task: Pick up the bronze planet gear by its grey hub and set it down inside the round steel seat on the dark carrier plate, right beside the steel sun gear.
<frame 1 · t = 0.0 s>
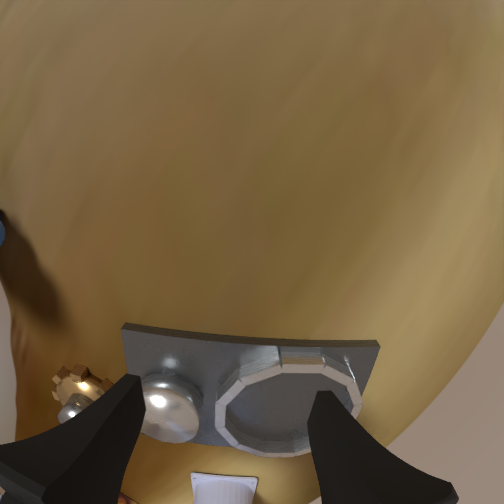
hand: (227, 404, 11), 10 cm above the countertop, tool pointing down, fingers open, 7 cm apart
gear carrier: (246, 398, 23), on the countertop
planet gear: (91, 396, 23), on the countertop
candy box: (113, 491, 31), on the countertop
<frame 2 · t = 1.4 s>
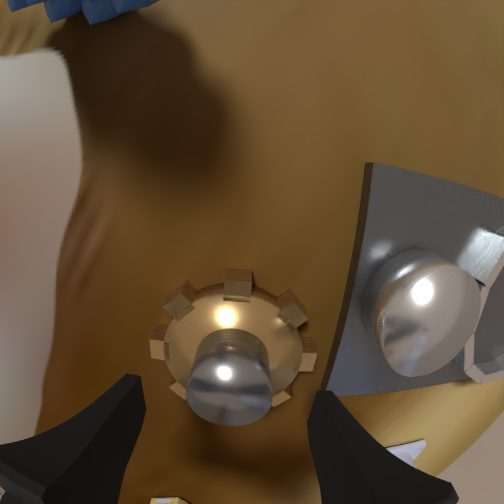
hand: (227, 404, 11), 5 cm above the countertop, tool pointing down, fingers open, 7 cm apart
gear carrier: (475, 294, 15), on the countertop
planet gear: (233, 342, 15), on the countertop
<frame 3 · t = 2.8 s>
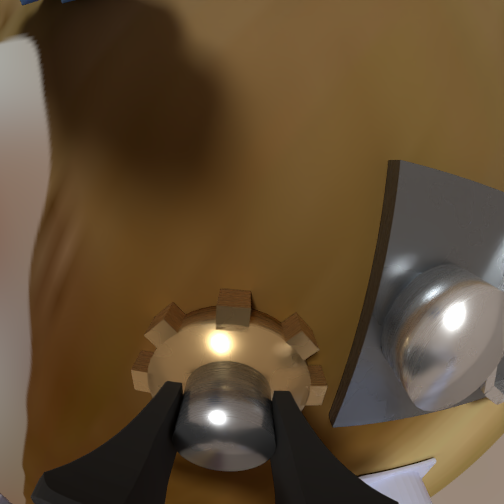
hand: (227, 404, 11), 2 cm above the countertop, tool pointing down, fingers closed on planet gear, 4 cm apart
gear carrier: (498, 310, 12), on the countertop
planet gear: (229, 371, 13), on the countertop, touching gripper
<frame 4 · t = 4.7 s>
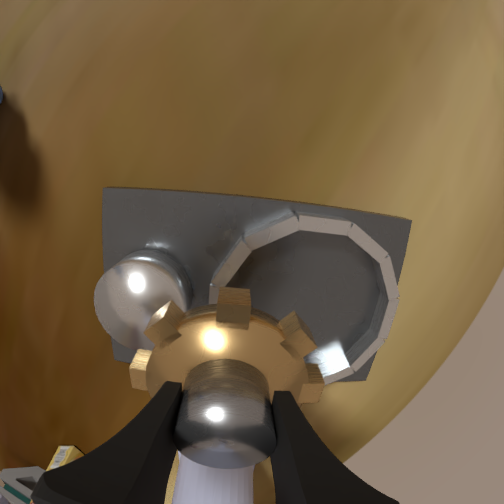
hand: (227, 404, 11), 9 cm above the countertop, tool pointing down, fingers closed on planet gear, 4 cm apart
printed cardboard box: (67, 487, 31), on the countertop
gear carrier: (250, 295, 19), on the countertop
planet gear: (227, 369, 13), point 7 cm above the countertop, touching gripper
candy box: (88, 463, 27), on the countertop
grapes: (1, 88, 15), on the countertop
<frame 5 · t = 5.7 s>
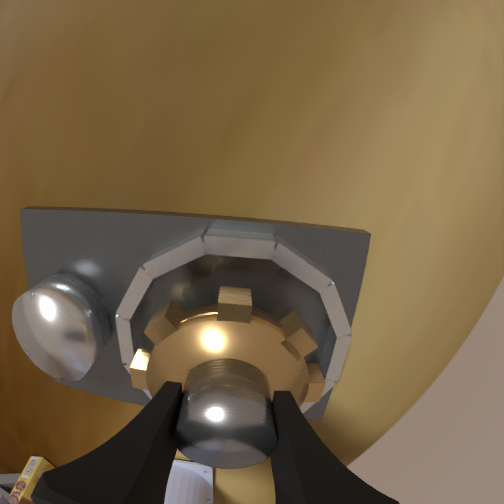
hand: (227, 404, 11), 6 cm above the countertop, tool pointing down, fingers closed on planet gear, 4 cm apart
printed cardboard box: (48, 494, 28), on the countertop
gear carrier: (173, 324, 16), on the countertop
planet gear: (227, 369, 13), point 4 cm above the countertop, touching gripper
candy box: (59, 473, 24), on the countertop
when the fingers open (5 cm above the countertop, at t = 6.7 s): planet gear drops 2 cm, resting on gear carrier.
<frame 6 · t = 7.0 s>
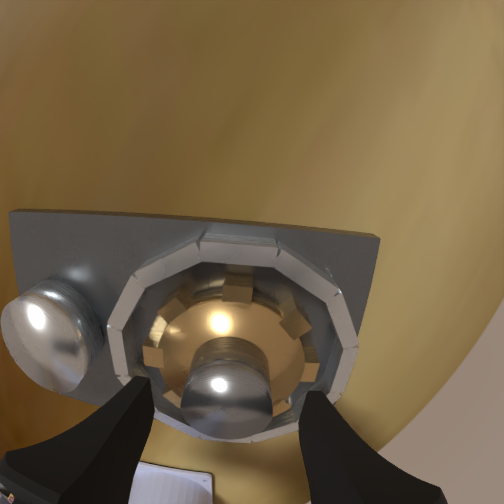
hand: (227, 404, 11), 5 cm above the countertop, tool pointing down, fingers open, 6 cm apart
gear carrier: (168, 333, 15), on the countertop
planet gear: (231, 350, 14), point 1 cm above the countertop, touching gear carrier
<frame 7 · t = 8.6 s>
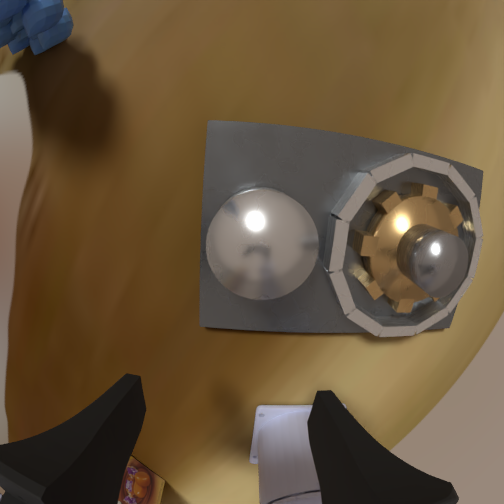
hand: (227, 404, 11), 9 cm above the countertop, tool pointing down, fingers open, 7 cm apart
gear carrier: (357, 238, 18), on the countertop
planet gear: (408, 245, 18), point 1 cm above the countertop, touching gear carrier
candy box: (132, 464, 26), on the countertop
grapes: (58, 32, 14), on the countertop
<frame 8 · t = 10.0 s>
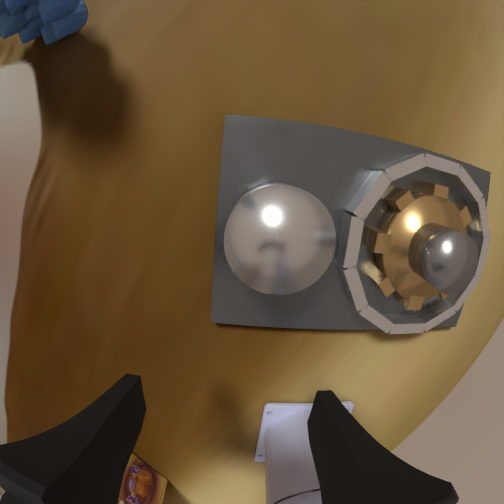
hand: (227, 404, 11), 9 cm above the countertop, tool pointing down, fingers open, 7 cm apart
gear carrier: (369, 236, 18), on the countertop
planet gear: (418, 244, 18), point 1 cm above the countertop, touching gear carrier
candy box: (134, 462, 26), on the countertop
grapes: (70, 23, 14), on the countertop
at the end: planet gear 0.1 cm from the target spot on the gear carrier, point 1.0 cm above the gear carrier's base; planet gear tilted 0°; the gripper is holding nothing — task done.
